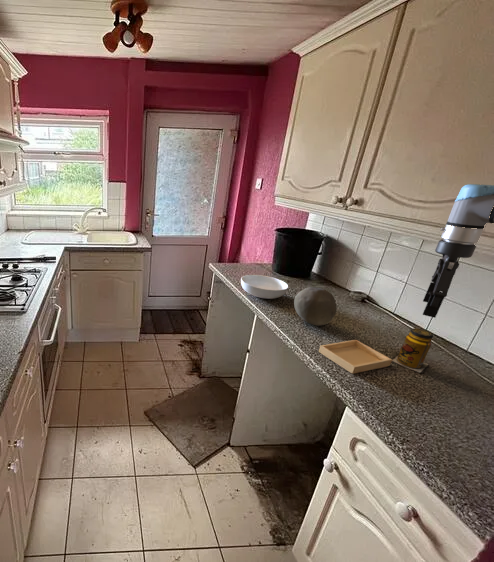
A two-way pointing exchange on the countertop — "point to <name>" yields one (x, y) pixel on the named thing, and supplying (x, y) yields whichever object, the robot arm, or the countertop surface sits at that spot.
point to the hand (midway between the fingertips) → (428, 308)
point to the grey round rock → (315, 305)
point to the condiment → (415, 350)
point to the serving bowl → (263, 286)
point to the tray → (355, 356)
